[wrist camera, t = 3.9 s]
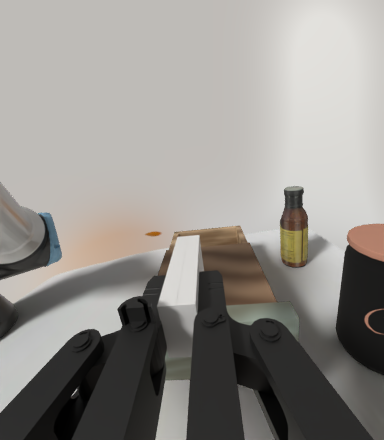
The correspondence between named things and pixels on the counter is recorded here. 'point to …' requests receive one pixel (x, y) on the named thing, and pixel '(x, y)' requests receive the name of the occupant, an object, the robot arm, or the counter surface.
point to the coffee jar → (363, 297)
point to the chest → (214, 236)
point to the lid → (236, 295)
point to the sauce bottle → (294, 229)
